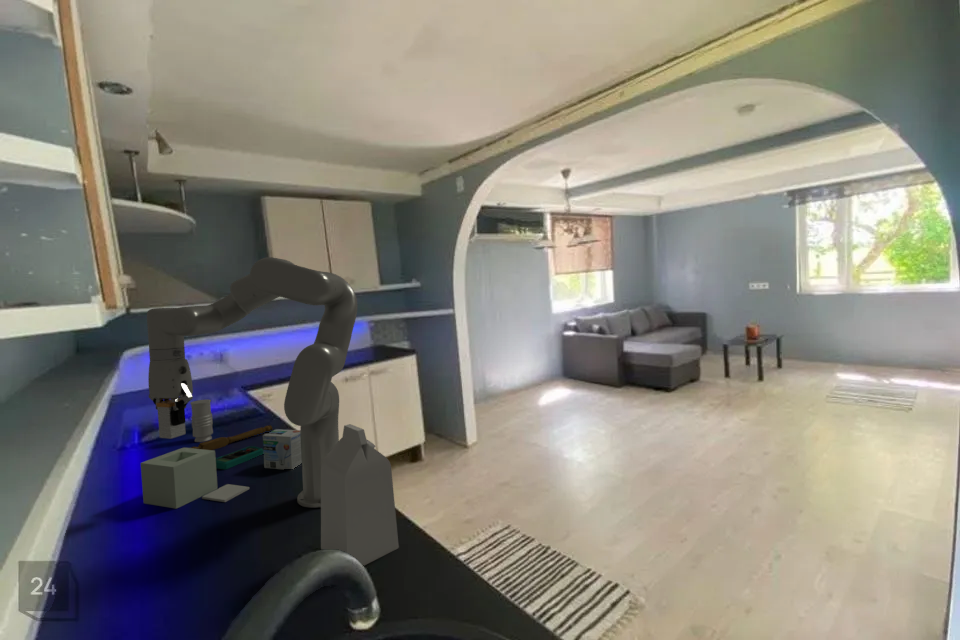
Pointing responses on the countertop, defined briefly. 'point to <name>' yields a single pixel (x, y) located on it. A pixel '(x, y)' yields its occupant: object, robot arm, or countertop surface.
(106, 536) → the countertop surface
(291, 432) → the light bulb box
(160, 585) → the countertop surface
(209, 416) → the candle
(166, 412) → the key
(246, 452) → the digital multimeter
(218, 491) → the mat
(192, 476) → the grey hollow block
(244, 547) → the countertop surface
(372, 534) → the milk
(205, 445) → the tap handle
